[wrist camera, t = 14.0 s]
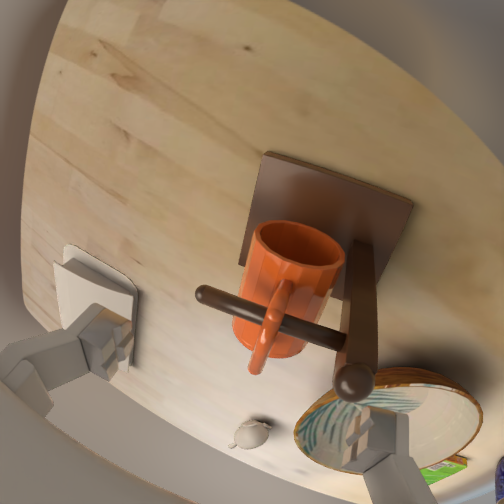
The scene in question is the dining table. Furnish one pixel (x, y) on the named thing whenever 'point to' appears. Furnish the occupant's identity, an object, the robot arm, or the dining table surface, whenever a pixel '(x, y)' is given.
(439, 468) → the game box
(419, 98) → the dining table surface
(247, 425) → the cream rounded piece
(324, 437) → the bowl
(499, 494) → the planter
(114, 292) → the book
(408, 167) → the dining table surface
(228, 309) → the stand
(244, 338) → the cup
